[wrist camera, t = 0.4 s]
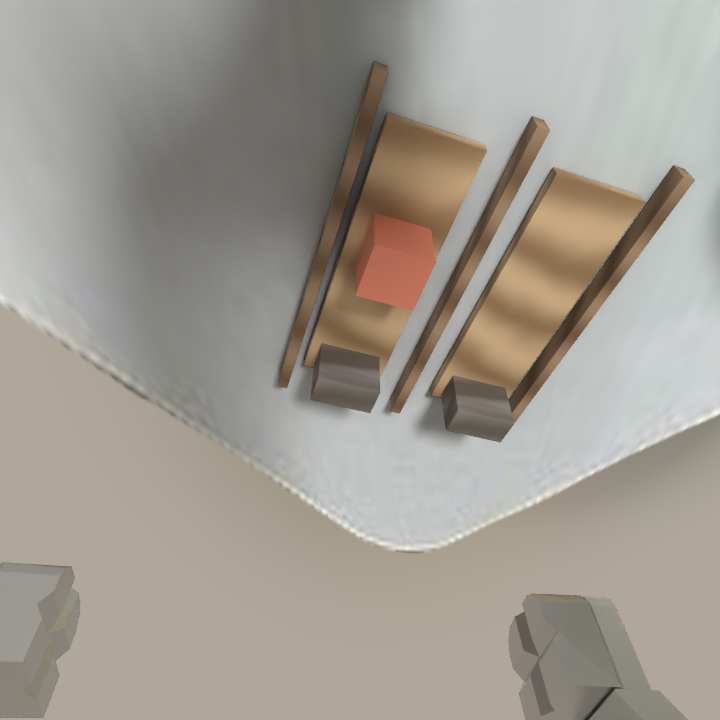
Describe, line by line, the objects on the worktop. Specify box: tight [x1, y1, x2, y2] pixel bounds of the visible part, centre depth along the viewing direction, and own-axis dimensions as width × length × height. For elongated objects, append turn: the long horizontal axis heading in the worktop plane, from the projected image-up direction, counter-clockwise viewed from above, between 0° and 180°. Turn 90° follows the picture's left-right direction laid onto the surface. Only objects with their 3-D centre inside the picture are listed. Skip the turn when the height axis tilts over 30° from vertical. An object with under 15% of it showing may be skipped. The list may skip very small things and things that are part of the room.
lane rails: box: [278, 62, 694, 423], centre depth 53 cm, size 32×26×2 cm
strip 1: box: [304, 112, 487, 413], centre depth 50 cm, size 26×8×6 cm, turn 163°
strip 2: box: [430, 167, 645, 442], centre depth 53 cm, size 26×8×6 cm, turn 163°
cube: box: [355, 213, 436, 311], centre depth 48 cm, size 5×5×5 cm
